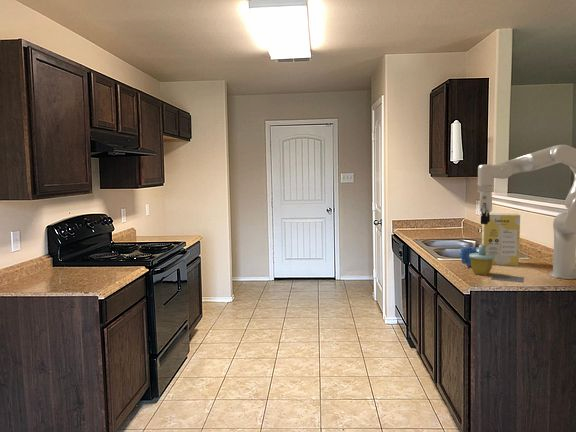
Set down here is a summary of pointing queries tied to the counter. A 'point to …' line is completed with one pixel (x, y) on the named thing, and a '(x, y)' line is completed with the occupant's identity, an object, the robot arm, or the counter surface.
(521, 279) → the mat
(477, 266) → the flower pot
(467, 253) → the grapes
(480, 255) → the lid
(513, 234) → the pasta box
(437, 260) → the counter surface
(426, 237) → the counter surface
